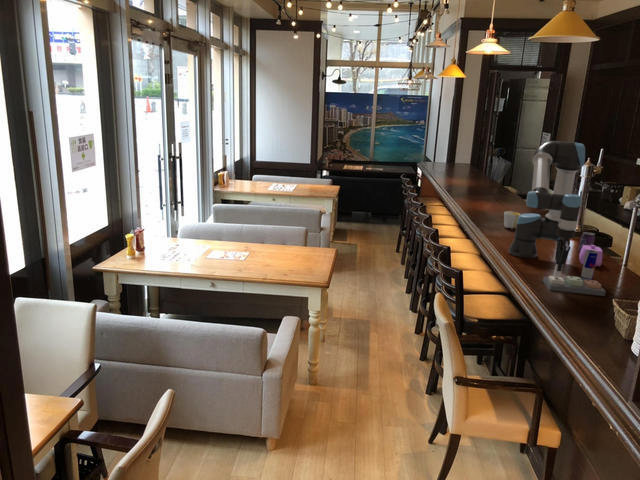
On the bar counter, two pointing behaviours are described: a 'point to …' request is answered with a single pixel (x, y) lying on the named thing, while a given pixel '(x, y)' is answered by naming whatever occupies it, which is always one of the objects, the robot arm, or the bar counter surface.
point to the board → (574, 288)
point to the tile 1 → (556, 280)
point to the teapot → (592, 247)
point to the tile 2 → (574, 281)
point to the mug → (510, 219)
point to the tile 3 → (592, 284)
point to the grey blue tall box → (589, 264)
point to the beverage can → (586, 239)
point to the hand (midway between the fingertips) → (556, 276)
